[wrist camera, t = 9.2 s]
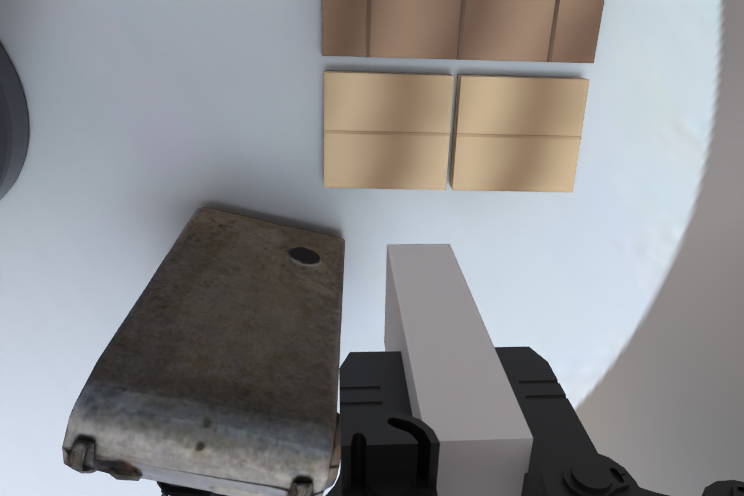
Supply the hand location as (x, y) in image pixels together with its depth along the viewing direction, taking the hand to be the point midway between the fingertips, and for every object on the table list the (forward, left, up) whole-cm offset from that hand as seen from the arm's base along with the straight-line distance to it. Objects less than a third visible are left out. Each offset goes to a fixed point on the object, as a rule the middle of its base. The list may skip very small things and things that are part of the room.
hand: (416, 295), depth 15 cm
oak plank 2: (+8, -1, -22) cm, 24 cm away
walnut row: (+4, +7, -23) cm, 24 cm away
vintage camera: (-8, -14, -23) cm, 28 cm away
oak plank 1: (0, -1, -22) cm, 22 cm away
